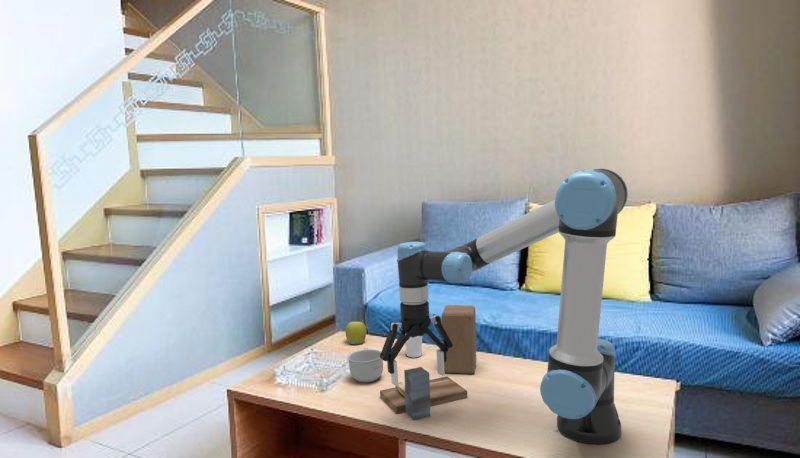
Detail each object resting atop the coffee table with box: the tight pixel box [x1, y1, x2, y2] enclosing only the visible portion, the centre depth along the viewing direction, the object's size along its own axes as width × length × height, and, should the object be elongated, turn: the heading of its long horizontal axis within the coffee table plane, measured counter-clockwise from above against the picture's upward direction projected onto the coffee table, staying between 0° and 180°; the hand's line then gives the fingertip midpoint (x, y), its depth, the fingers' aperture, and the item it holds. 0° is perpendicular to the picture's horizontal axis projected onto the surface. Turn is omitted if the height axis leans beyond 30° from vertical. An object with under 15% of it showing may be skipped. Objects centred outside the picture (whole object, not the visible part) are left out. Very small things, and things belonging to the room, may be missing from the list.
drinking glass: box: [404, 334, 423, 359], centre depth 194 cm, size 7×7×15 cm
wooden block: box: [441, 304, 477, 375], centre depth 180 cm, size 10×10×20 cm
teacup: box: [347, 347, 384, 384], centre depth 177 cm, size 14×11×8 cm
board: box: [379, 375, 468, 415], centre depth 161 cm, size 12×22×2 cm, turn 114°
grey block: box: [395, 366, 431, 421], centre depth 155 cm, size 16×5×12 cm, turn 24°
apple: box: [344, 317, 367, 345], centre depth 210 cm, size 8×8×10 cm
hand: (418, 379), depth 149 cm, fingers open, 13 cm apart
